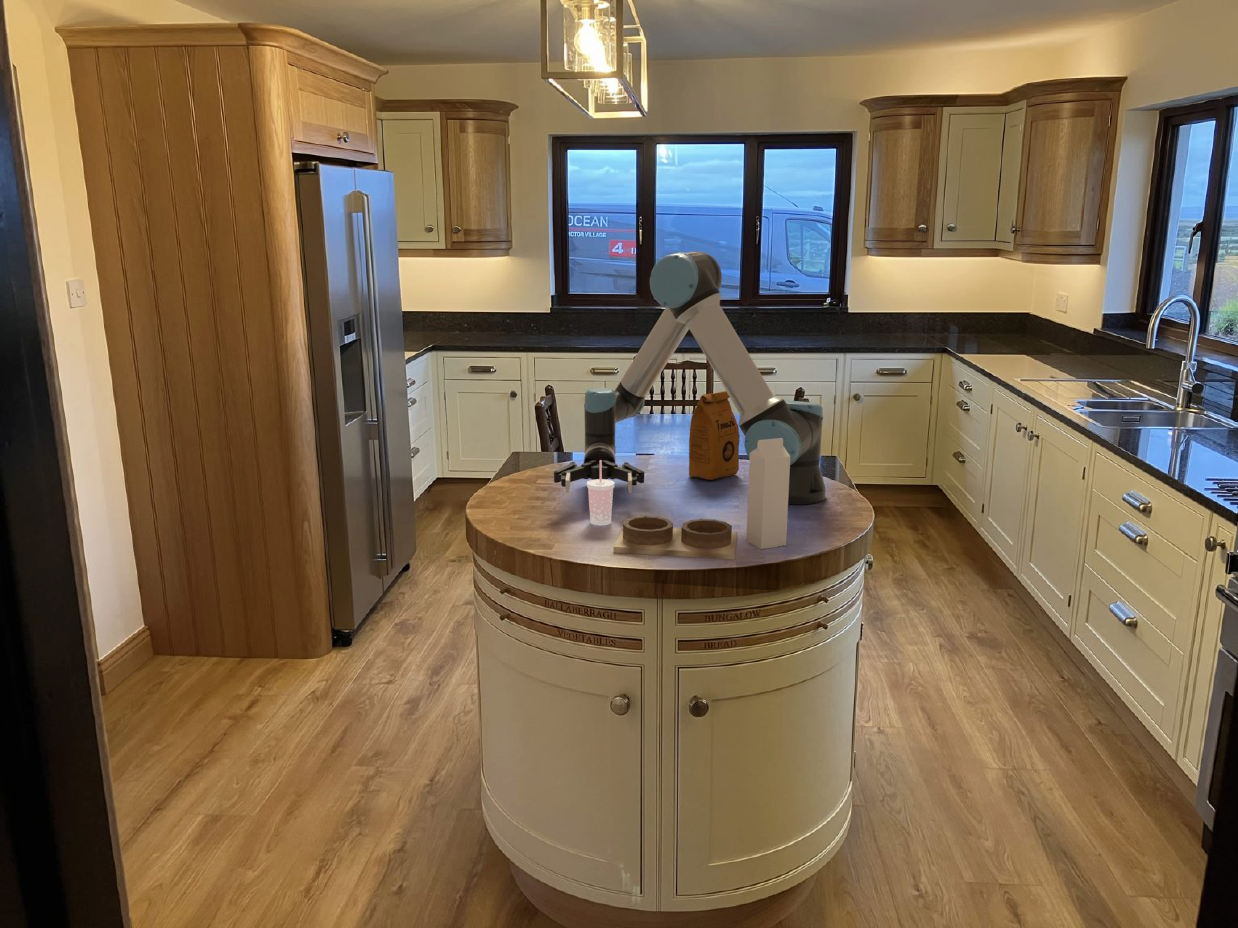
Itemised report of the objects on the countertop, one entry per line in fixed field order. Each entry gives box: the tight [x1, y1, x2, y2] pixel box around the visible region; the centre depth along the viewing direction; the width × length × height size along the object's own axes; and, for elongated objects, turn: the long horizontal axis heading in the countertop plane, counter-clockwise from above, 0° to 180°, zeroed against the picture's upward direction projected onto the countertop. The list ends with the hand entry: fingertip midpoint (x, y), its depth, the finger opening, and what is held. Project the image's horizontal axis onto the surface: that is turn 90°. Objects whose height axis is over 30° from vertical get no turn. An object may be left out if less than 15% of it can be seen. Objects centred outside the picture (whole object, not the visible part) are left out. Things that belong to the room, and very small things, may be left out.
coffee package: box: [688, 390, 741, 481], centre depth 250 cm, size 10×12×22 cm
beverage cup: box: [586, 460, 615, 526], centre depth 213 cm, size 6×6×14 cm
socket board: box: [613, 515, 738, 560], centre depth 200 cm, size 24×14×4 cm, turn 81°
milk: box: [745, 438, 790, 550], centre depth 199 cm, size 6×6×22 cm
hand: (598, 486), depth 212 cm, fingers open, 13 cm apart
